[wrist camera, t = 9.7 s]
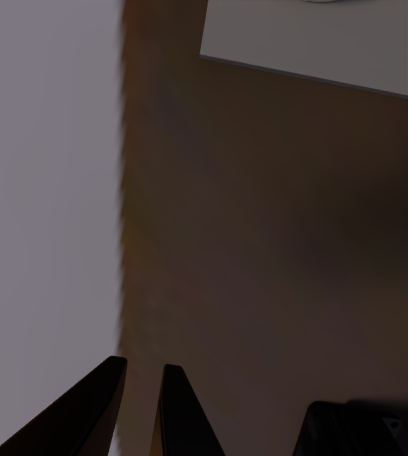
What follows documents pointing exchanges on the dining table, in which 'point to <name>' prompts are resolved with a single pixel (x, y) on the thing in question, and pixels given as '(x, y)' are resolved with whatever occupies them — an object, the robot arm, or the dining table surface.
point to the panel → (314, 40)
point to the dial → (319, 0)
